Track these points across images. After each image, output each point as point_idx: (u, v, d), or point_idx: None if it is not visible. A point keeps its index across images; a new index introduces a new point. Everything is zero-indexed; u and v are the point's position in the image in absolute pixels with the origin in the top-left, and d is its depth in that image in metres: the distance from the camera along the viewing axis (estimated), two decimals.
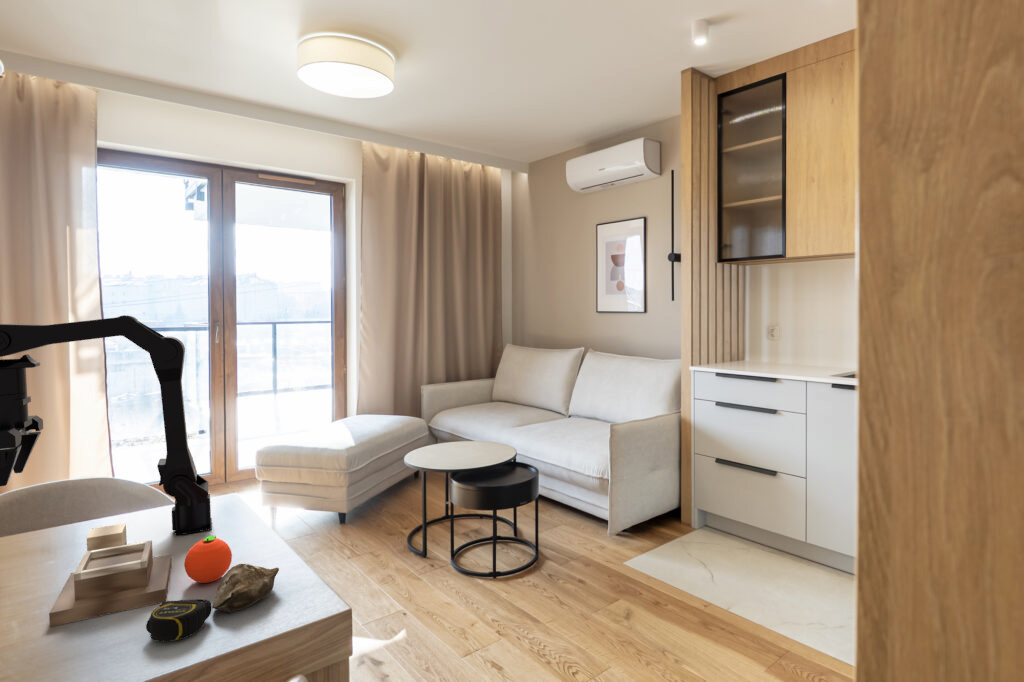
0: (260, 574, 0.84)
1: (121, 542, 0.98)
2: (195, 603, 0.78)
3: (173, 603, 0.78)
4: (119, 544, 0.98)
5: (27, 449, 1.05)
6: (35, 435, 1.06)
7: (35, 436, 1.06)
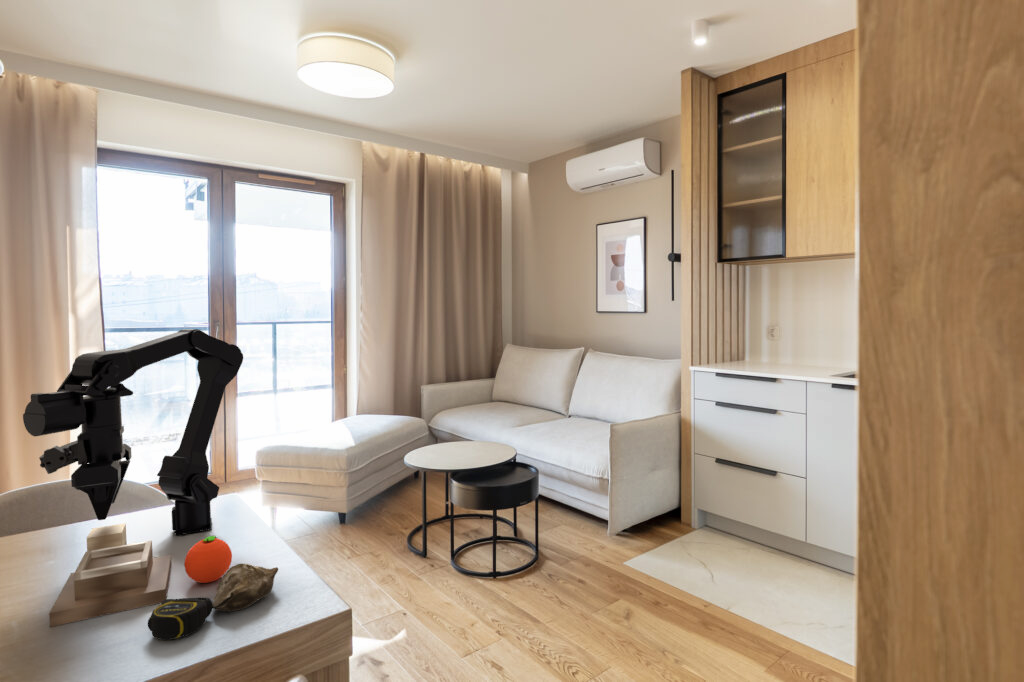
0: (259, 574, 0.84)
1: (121, 542, 0.98)
2: (196, 601, 0.79)
3: (174, 601, 0.79)
4: (119, 544, 0.98)
5: None
6: (126, 464, 1.04)
7: (126, 466, 1.04)
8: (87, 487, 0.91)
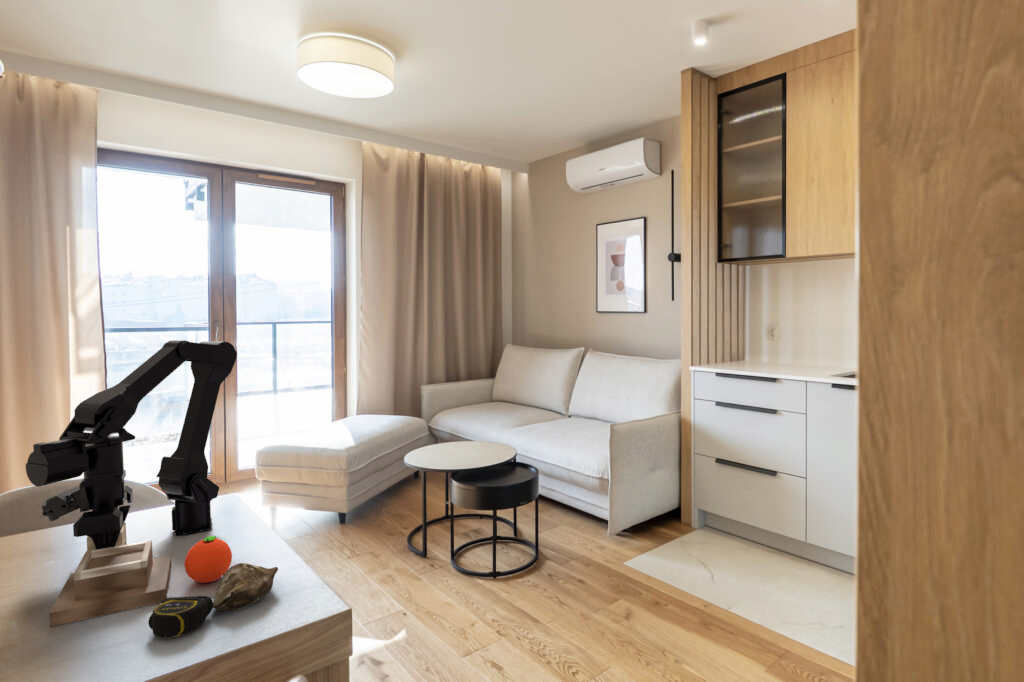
0: (259, 574, 0.84)
1: (121, 542, 0.98)
2: (197, 600, 0.79)
3: (174, 600, 0.79)
4: (119, 544, 0.98)
5: None
6: (126, 511, 1.03)
7: (126, 512, 1.03)
8: None
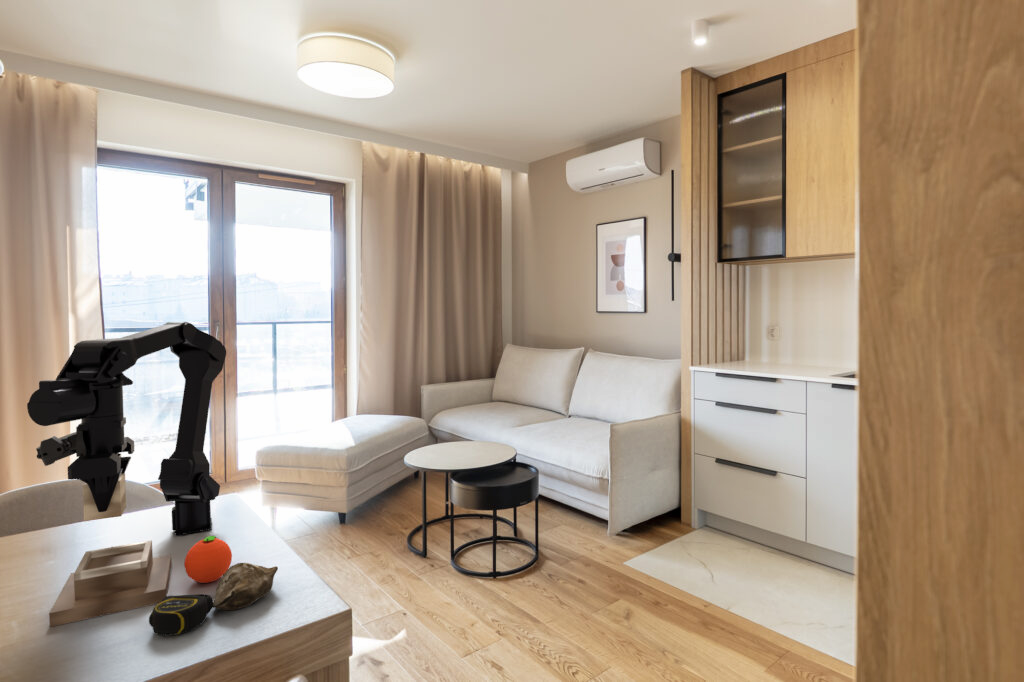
0: (260, 573, 0.85)
1: (119, 491, 0.92)
2: (197, 598, 0.79)
3: (175, 598, 0.80)
4: (117, 493, 0.92)
5: None
6: (126, 461, 0.97)
7: (126, 462, 0.97)
8: None
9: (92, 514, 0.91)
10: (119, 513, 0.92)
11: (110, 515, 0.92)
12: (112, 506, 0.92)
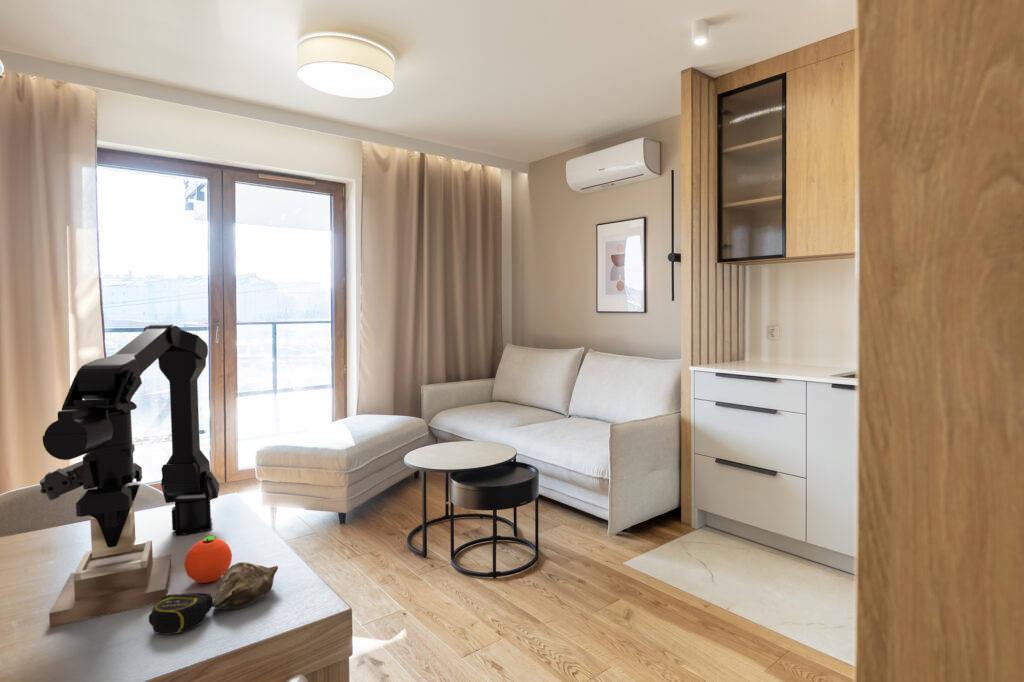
0: (260, 573, 0.85)
1: (129, 524, 0.86)
2: (196, 597, 0.80)
3: (174, 597, 0.80)
4: (127, 526, 0.86)
5: None
6: (135, 490, 0.91)
7: (135, 491, 0.91)
8: None
9: (101, 550, 0.85)
10: (129, 548, 0.87)
11: (120, 550, 0.86)
12: (122, 540, 0.86)
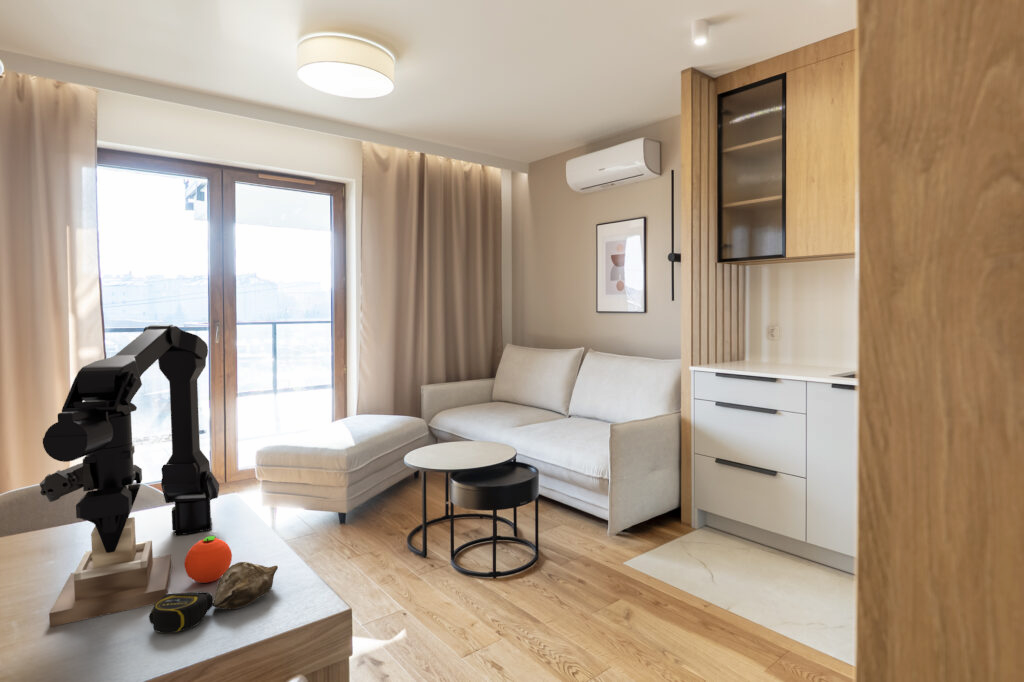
0: (260, 572, 0.85)
1: (130, 538, 0.87)
2: (197, 596, 0.80)
3: (175, 596, 0.80)
4: (128, 540, 0.86)
5: None
6: (136, 489, 0.93)
7: (136, 491, 0.93)
8: (94, 517, 0.80)
9: (101, 564, 0.85)
10: None
11: None
12: (122, 554, 0.86)
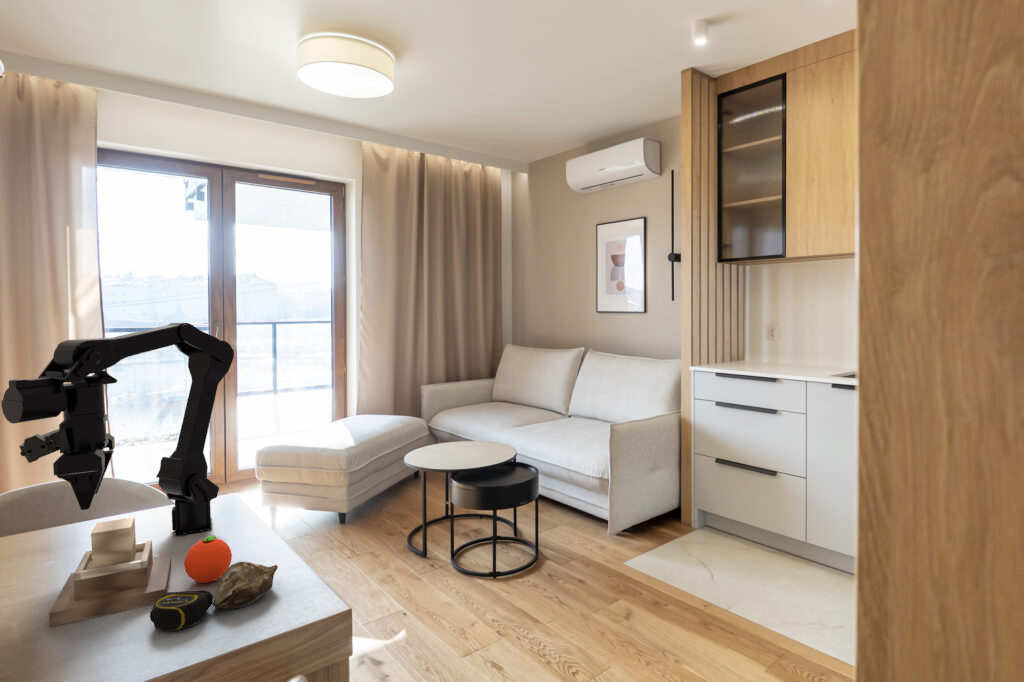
0: (260, 572, 0.85)
1: (130, 538, 0.87)
2: (197, 594, 0.81)
3: (175, 594, 0.81)
4: (128, 540, 0.86)
5: None
6: (109, 454, 1.02)
7: (109, 455, 1.02)
8: (70, 476, 0.88)
9: (101, 564, 0.85)
10: None
11: None
12: (122, 554, 0.86)
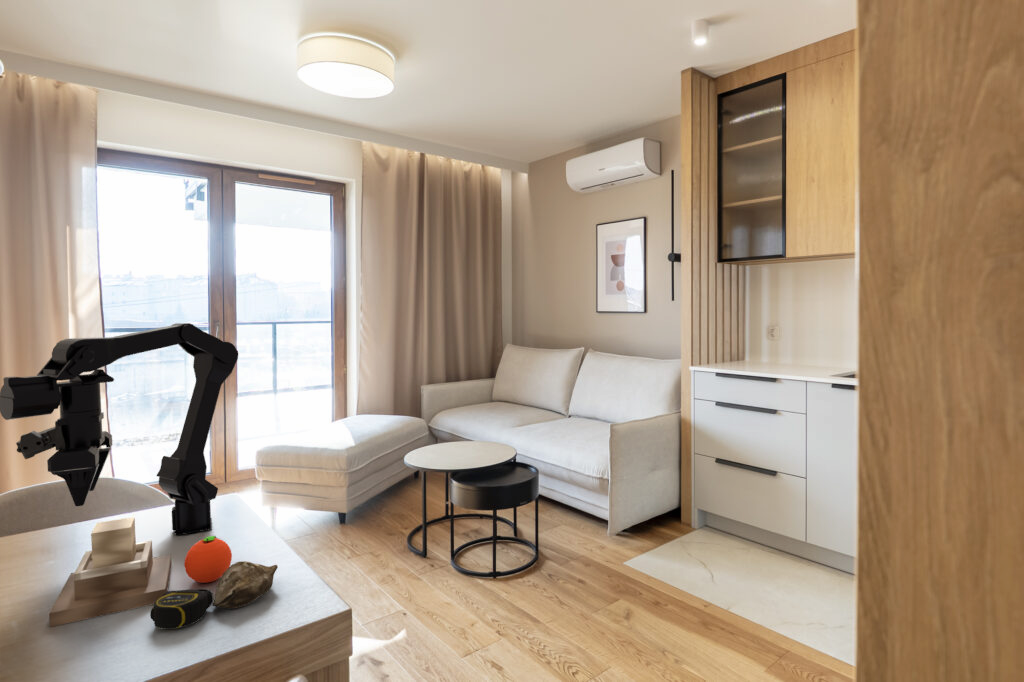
0: (260, 572, 0.85)
1: (130, 538, 0.87)
2: (197, 592, 0.81)
3: (175, 593, 0.81)
4: (128, 540, 0.86)
5: (98, 466, 1.03)
6: (106, 452, 1.03)
7: (106, 453, 1.03)
8: (64, 472, 0.90)
9: (101, 564, 0.85)
10: None
11: None
12: (122, 554, 0.86)
